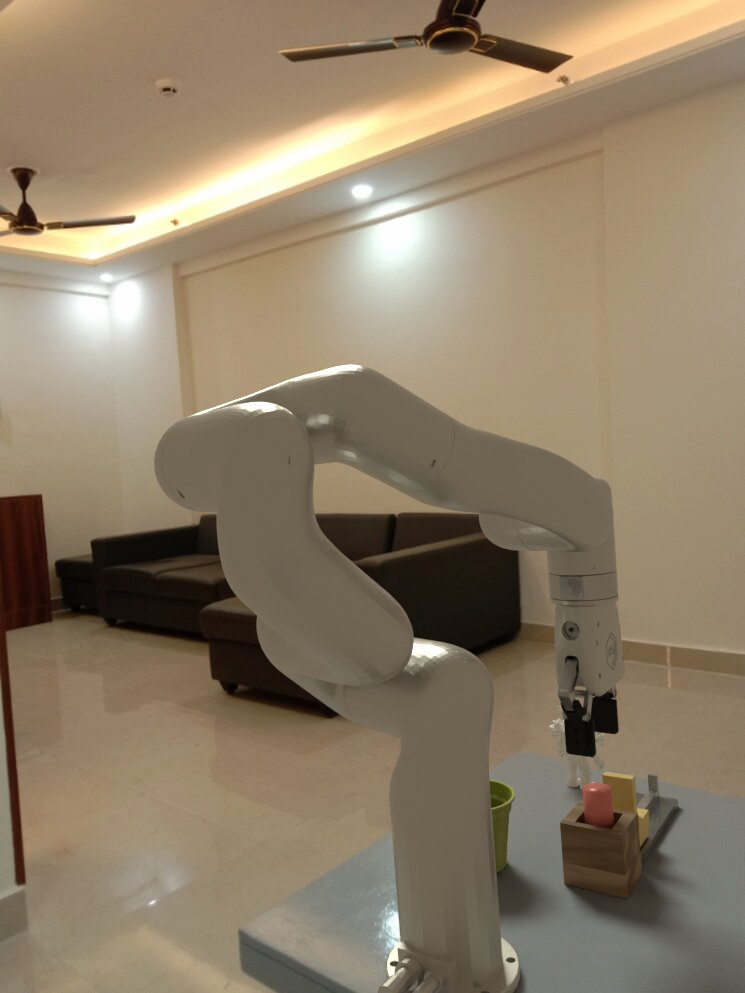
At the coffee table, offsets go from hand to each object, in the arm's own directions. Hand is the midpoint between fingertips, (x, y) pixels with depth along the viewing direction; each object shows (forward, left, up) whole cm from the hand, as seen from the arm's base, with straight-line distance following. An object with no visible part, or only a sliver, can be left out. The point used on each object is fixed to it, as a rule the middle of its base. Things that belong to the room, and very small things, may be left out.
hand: (593, 742), depth 90 cm
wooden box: (0, 0, -16) cm, 16 cm away
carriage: (+8, 0, -14) cm, 16 cm away
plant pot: (-3, +14, -16) cm, 21 cm away
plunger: (0, 0, -10) cm, 10 cm away
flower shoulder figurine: (+24, +11, -16) cm, 31 cm away
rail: (+13, 0, -16) cm, 20 cm away
